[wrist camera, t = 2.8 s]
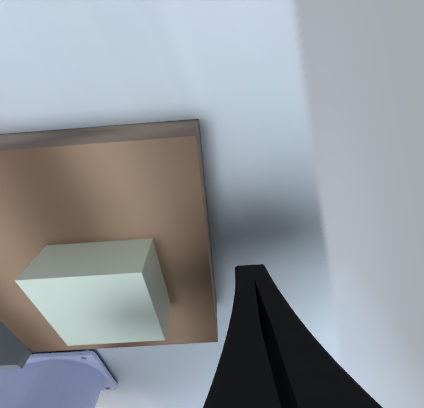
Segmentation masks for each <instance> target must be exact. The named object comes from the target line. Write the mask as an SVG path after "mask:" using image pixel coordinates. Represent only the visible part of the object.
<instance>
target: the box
mask: <svg viewBox="0 0 424 408" xmlns="http://www.w3.org/2000/svg"><path fill="white" fill-rule="evenodd" d="M31 354H32V351H31V350H30V349H29V348H28V347H27V346H26V345H25V344H24V343H23V342H22V341H21V340H20V339H19V338H18V337H17V336H16V335H15V334H14V333H13V332H12V331H11V330H9V329H8V328H7V327H6V326H5V325H4V324H3V323H2V322H1V321H0V370H10V369H22V368H23V367H24V365H25V363H26V362H27V360H28V359H29V357H30V355H31Z"/></svg>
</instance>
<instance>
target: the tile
mask: <svg viewBox="0 0 424 408" xmlns="http://www.w3.org/2000/svg"><path fill="white" fill-rule="evenodd" d="M15 282H16V283H17V284H18V285H19V287H20V288H21V289H22V290H23V292H24V293H25V294H26V295H27V296H28V298H29V299H30V300H31V301H32V303H33V304H34V305H35V306H36V308H37V309H38V310H39V311H40V312H41V314H42V315H43V316H44V317H45V319H46V320H47V321H48V322H49V323H50V325H51V326H52V327H53V328H54V330H55V331H56V332H57V333H58V335H59V336H60V337H61V338H62V339H63V341H64V342H65V343H66V344H67V346H73V345H90V344H108V343H125V342H143V341H161V340H165V338H166V332H167V325H168V319H169V312H170V306H171V303H170V300H169V296H168V292H167V289H166V285H165V282H164V278H163V274H162V271H161V267H160V263H159V260H158V256H157V253H156V249H155V245H154V242H153V238H149V239H134V240H119V241H104V242H89V243H74V244H59V245H46V246H45V247H44V249H43V250H42V251H41V252H40V253H39V254H38V255H37V256H36V257H35V258H34V260H33V261H32V262H31V263H30V264H29V265H28V266H27V267H26V268H25V269H24V271H23V272H22V273H21V274H20V275H19V276H18V277H17V278H16V279H15Z"/></svg>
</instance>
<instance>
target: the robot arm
mask: <svg viewBox="0 0 424 408" xmlns="http://www.w3.org/2000/svg"><path fill="white" fill-rule="evenodd" d="M116 388H117V383H116V381H115V380H114V378H113V377H112V376H111V374H110V373H109V371H108V370H107V369H106V367H105V366H104V364H103V363H102V361H101V360H100V359H99V357H98V356H97V354H96V353H95V352H93V351H79V352H61V353H43V354H31V355H30V357H29V359H28V360H27V362H26V363H25V365H24V367H23V368H22V369H10V370H0V408H95V406H96V403H97V400H98V397H99V394H100V391H101V390H114V389H116ZM203 408H382V407H381V406H380V405H379V404H378V403H377V402H376V401H375V400H374V399H373V398H372V397H371V396H370V395H369V394H368V393H367V392H366V391H365V390H364V389H363V388H362V387H361V386H360V385H358V383H357V382H356V381H355V380H354V379H353V378H352V377H351V376H350V375H349V374H347V372H346V371H345V370H344V369H343V368H342V367H341V366H340V365H339V364H338V363H337V362H336V361H335V360H334V359H333V358H332V357H331V356H330V354H329V353H328V352H327V351H326V350H325V349H324V348H323V347H322V346H321V344H320V343H319V342H318V341H317V340H316V339H315V338H314V336H313V335H312V334H311V333H310V332H309V330H308V329H307V328H306V327H305V325H304V324H303V323H302V322H301V320H300V319H299V318H298V316H297V315H296V314H295V312H294V311H293V310H292V308H291V307H290V306H289V304H288V303H287V301H286V300H285V298H284V297H283V296H282V294H281V293H280V291H279V290H278V288H277V286H276V285H275V283H274V282H273V280H272V278H271V277H270V275H269V273H268V271H267V270H266V268H265V266H264V265H263V264H261V265H245V266H237V267H235V296H234V303H233V309H232V314H231V319H230V323H229V328H228V332H227V336H226V340H225V344H224V347H223V351H222V354H221V357H220V361H219V364H218V367H217V370H216V373H215V376H214V379H213V382H212V385H211V388H210V390H209V393H208V396H207V399H206V401H205V404H204V407H203Z"/></svg>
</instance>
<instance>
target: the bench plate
mask: <svg viewBox="0 0 424 408" xmlns="http://www.w3.org/2000/svg"><path fill="white" fill-rule="evenodd" d="M149 238H153V242H154V245H155V249H156V253H157V256H158V260H159V263H160V267H161V271H162V274H163V278H164V282H165V285H166V289H167V292H168V296H169V300H170V303H171V306H170V312H169V319H168V325H167V332H166V338H165V340H161V341H143V342H125V343H108V344H90V345H73V346H67V344H66V343H65V342H64V341H63V339H62V338H61V337H60V336H59V335H58V333H57V332H56V331H55V330H54V328H53V327H52V326H51V325H50V323H49V322H48V321H47V320H46V319H45V317H44V316H43V315H42V314H41V312H40V311H39V310H38V309H37V308H36V306H35V305H34V304H33V303H32V301H31V300H30V299H29V298H28V296H27V295H26V294H25V293H24V292H23V290H22V289H21V288H20V287H19V285H18V284H17V283H16V282H15V279H16V278H17V277H18V276H19V275H20V274H21V273H22V272H23V271H24V269H25V268H26V267H27V266H28V265H29V264H30V263H31V262H32V261H33V260H34V258H35V257H36V256H37V255H38V254H39V253H40V252H41V251H42V250H43V249H44V247H45V246H46V245H59V244H74V243H89V242H104V241H119V240H134V239H149ZM0 321H1V322H2V323H3V324H4V325H5V326H6V327H7V328H8V329H9V330H11V331H12V332H13V333H14V334H15V335H16V336H17V337H18V338H19V339H20V340H21V341H22V342H23V343H24V344H25V345H26V346H27V347H28V348H29V349H30V350H31V351H32V352H45V351H62V350H80V349H98V348H115V347H133V346H151V345H169V344H186V343H204V342H218V332H217V306H216V293H215V283H214V273H213V262H212V252H211V242H210V231H209V221H208V211H207V200H206V190H205V180H204V169H203V159H202V149H201V138H200V128H199V119H193V120H180V121H167V122H154V123H141V124H128V125H115V126H103V127H90V128H77V129H64V130H51V131H38V132H25V133H12V134H0Z"/></svg>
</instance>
